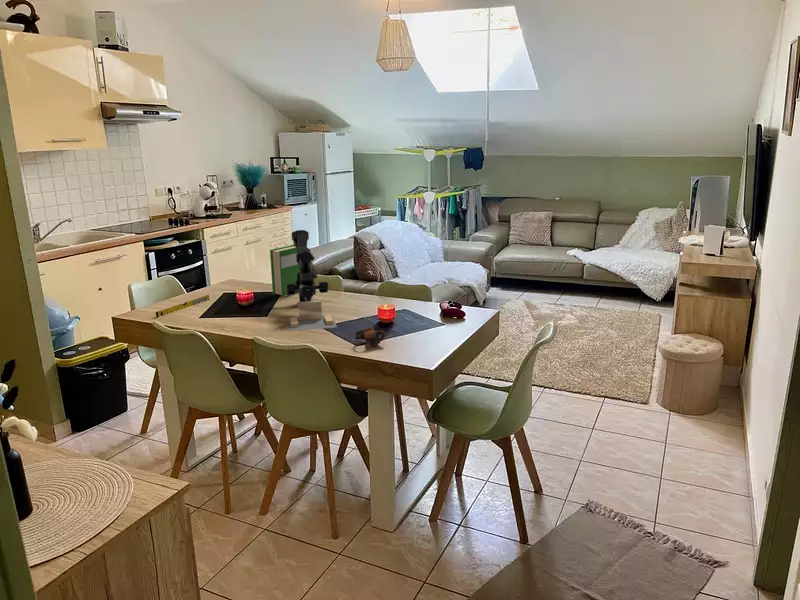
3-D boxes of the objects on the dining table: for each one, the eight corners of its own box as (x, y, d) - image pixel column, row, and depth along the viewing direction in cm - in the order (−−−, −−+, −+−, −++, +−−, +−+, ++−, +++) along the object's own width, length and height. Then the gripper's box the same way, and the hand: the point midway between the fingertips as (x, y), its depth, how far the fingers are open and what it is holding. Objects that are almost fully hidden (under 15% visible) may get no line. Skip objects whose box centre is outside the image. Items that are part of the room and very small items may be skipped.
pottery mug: (358, 352, 234) (352, 331, 235) (359, 354, 243) (354, 335, 244) (388, 342, 234) (382, 322, 236) (388, 345, 244) (382, 326, 245)
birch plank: (299, 319, 270) (298, 301, 268) (321, 317, 272) (320, 300, 270) (299, 320, 268) (298, 303, 266) (322, 318, 271) (321, 301, 268)
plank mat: (287, 320, 272) (287, 314, 272) (332, 317, 277) (331, 311, 276) (289, 333, 254) (289, 327, 254) (337, 329, 259) (336, 323, 258)
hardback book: (283, 296, 313) (280, 251, 307) (272, 295, 317) (269, 249, 311) (306, 289, 327) (303, 245, 321) (296, 287, 331) (293, 244, 325)
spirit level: (158, 318, 279) (157, 312, 279) (156, 317, 280) (155, 311, 279) (209, 300, 308) (208, 295, 308) (207, 300, 309) (206, 294, 308)
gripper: (285, 266, 272) (288, 296, 264) (327, 264, 276) (330, 293, 268) (285, 279, 281) (288, 308, 274) (325, 277, 285) (329, 306, 278)
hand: (309, 304), depth 273 cm, fingers closed
